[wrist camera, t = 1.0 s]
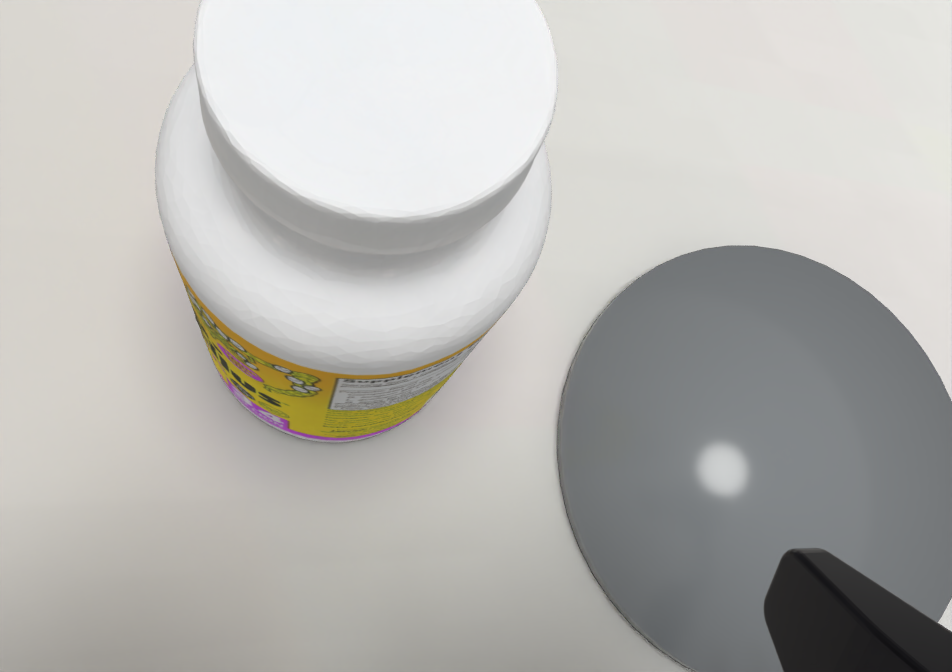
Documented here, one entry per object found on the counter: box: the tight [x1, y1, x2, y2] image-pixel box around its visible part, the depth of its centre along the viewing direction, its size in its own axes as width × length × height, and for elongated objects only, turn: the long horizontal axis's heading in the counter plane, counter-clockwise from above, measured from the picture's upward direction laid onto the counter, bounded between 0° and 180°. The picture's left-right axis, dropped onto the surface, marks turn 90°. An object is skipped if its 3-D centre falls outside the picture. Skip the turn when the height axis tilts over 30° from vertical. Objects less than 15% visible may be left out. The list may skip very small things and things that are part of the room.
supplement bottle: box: [155, 0, 558, 442], centre depth 16 cm, size 7×7×13 cm
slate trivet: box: [557, 246, 952, 672], centre depth 24 cm, size 13×13×1 cm
